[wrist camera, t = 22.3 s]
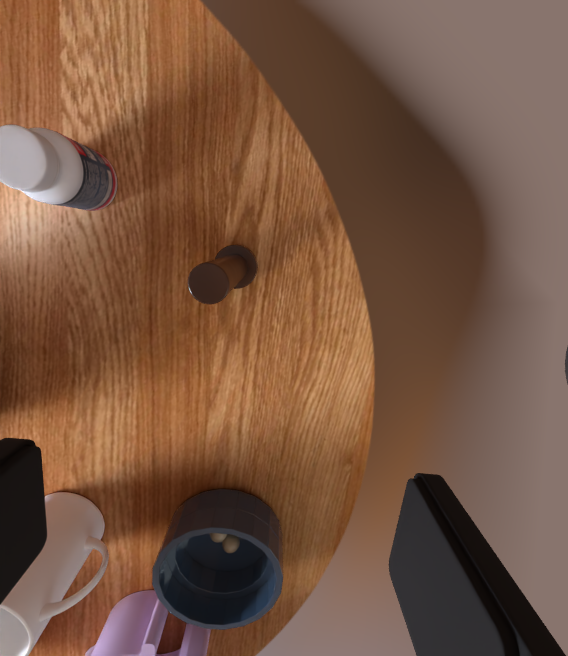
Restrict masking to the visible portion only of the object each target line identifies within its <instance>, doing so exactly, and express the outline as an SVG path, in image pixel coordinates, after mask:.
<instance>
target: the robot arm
mask: <svg viewBox="0 0 568 656" xmlns="http://www.w3.org/2000/svg"><path fill="white" fill-rule="evenodd" d="M46 539H47V522H46V509H45V496H44V483H43V470H42V457H41V450H40V448H39V447H36V445H35V443H34V441H32V440H28V439H16V438H4V439H2V440H0V605H1V603H2V602H3V601H4V599H5V598H6V597H7V595H8V594H9V593H10V592H11V590H12V589H13V588H14V586H15V585H16V584H17V582H18V581H19V580H20V578H21V577H22V576H23V575H24V573H25V572H26V571H27V569H28V568H29V567H30V565H31V564H32V563H33V561H34V560H35V559H36V557H37V556H38V555H39V554H40V552H41V551H42V549H43V547H44V545H45V542H46ZM389 572H390V576H391V580H392V583H393V586H394V589H395V592H396V595H397V598H398V601H399V604H400V607H401V610H402V613H403V616H404V619H405V622H406V625H407V628H408V631H409V634H410V637H411V640H412V643H413V646H414V649H415V652H416V655H417V656H566V655H565V654H564V653H563V651H562V649H561V648H560V647H559V645H558V644H557V642H556V641H555V639H554V638H553V636H552V635H551V633H550V632H549V631H548V629H547V628H546V626H545V625H544V623H543V622H542V620H541V619H540V618H539V616H538V615H537V613H536V612H535V610H534V609H533V607H532V606H531V605H530V603H529V602H528V600H527V599H526V597H525V596H524V594H523V593H522V592H521V590H520V589H519V587H518V586H517V584H516V583H515V581H514V580H513V579H512V577H511V576H510V574H509V573H508V571H507V570H506V568H505V567H504V565H503V564H502V563H501V561H500V560H499V558H498V557H497V555H496V554H495V553H494V551H493V550H492V548H491V547H490V545H489V544H488V543H487V541H486V539H485V538H484V537H483V535H482V534H481V532H480V531H479V529H478V528H477V526H476V525H475V524H474V522H473V521H472V519H471V518H470V516H469V515H468V513H467V512H466V511H465V509H464V508H463V506H462V505H461V504H460V502H459V501H458V499H457V498H456V496H455V495H454V493H453V492H452V490H451V489H450V487H449V486H448V485H447V483H446V482H445V480H444V479H443V478H442V477H441V476H440V475H433V474H422V473H417V474H416V475H415V476H414V479H409V480H408V482H407V486H406V490H405V495H404V498H403V503H402V507H401V511H400V516H399V520H398V524H397V528H396V533H395V537H394V541H393V546H392V550H391V554H390V558H389Z"/></svg>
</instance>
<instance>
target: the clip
mask: <svg viewBox="0 0 568 656" xmlns="http://www.w3.org/2000/svg"><path fill="white" fill-rule="evenodd" d="M168 612H169V611H168V610H167V609H166V608H165V607H164V605H163V604H162V603H161V602H160V601H159V599H158V597H157V595H156V592H155V590H146V591H140V592H136V593H133V594H130V595H128V596H126V597H124V598H123V599H121V600H120V601H119V602H118V603H117V604H116V605H115V606H114V607H113V609H112V610H111V612H110V614H109V617H108V619H107V621H106V623H105V626H104V628H103V630H102V632H101V634H100V637H99V639H98V641H97V643H96V645H94V646H93V647H91V648H90V649H89V650H88V651H87V652H86V654H85V656H206V655H207V649H208V643H209V638H210V632H211V629H205V628H201V627H198V626H195V625H192V624H188V623H187V624H186V629H185V633H184V637H183V641H182V645H181V649H179V650H177V651H174V652H171V653H166V654H156V652H157V649H158V645H159V642H160V639H161V635H162V632H163V629H164V625H165V622H166V618H167V615H168Z"/></svg>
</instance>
